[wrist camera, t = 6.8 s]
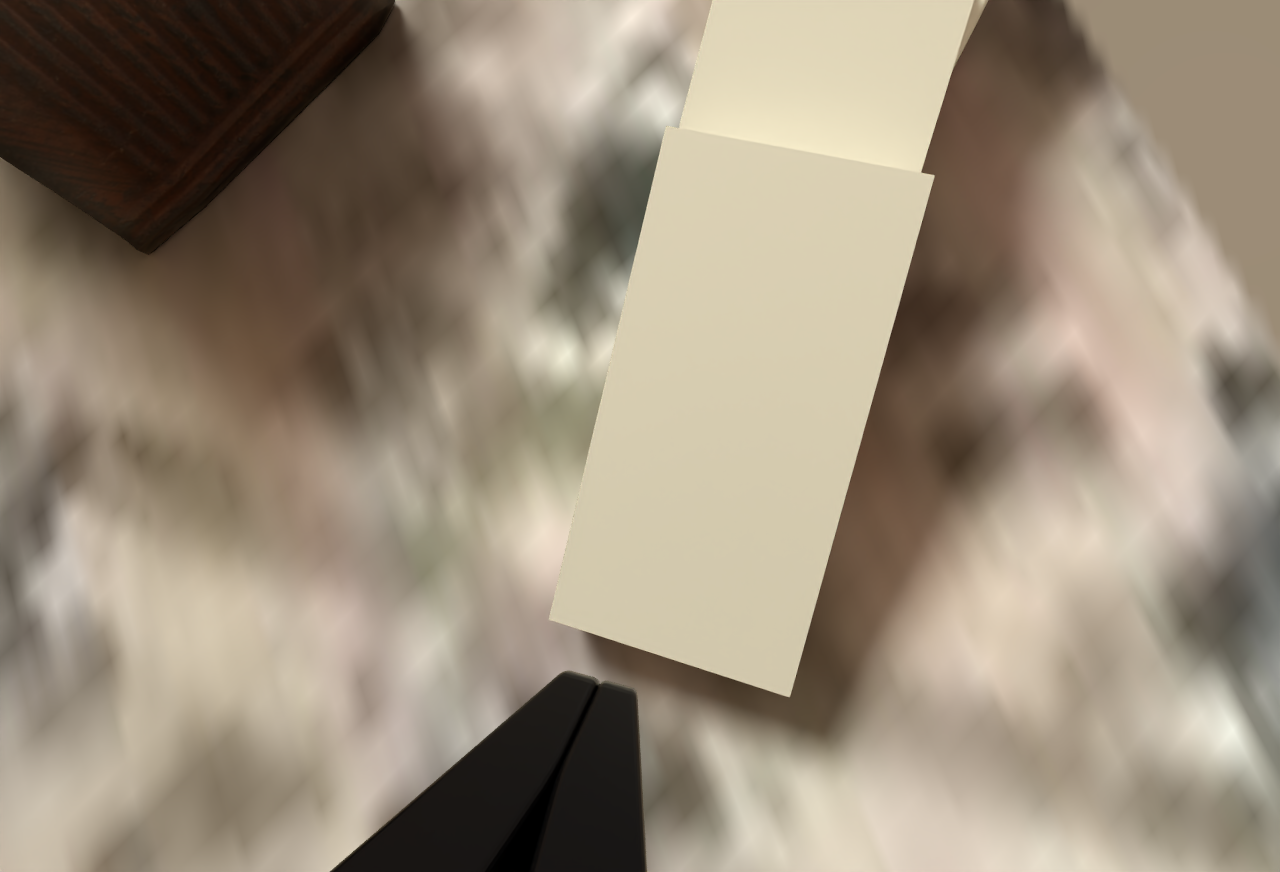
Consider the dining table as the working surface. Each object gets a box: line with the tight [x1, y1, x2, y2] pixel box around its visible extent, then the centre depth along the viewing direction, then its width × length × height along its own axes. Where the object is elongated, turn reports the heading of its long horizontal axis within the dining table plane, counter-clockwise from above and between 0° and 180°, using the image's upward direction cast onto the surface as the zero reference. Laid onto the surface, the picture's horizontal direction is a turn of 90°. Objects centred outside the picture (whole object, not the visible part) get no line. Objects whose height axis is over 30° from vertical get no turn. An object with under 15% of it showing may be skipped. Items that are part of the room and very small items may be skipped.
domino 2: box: [549, 126, 935, 697], centre depth 15 cm, size 2×5×10 cm
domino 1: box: [679, 0, 974, 173], centre depth 16 cm, size 2×5×10 cm
